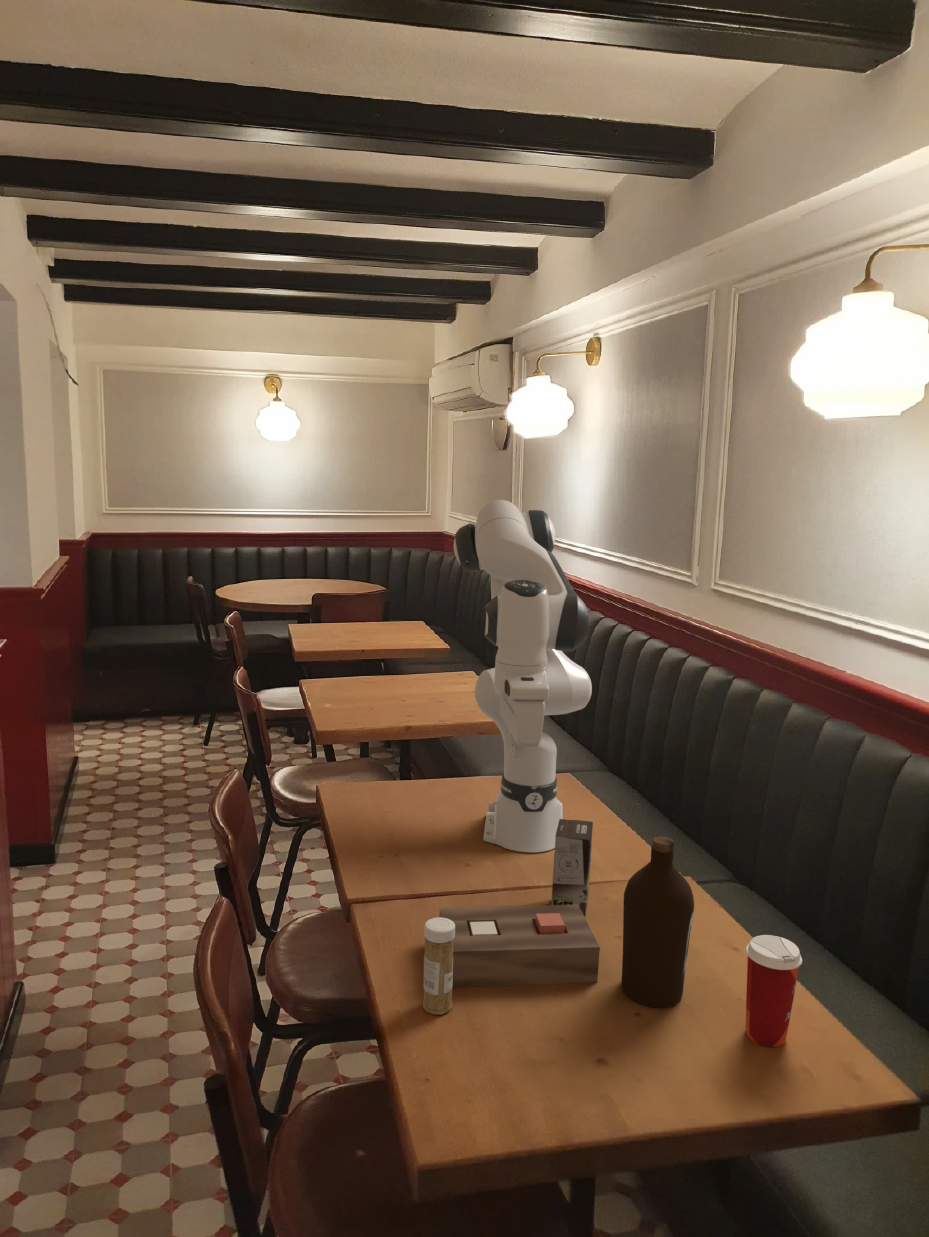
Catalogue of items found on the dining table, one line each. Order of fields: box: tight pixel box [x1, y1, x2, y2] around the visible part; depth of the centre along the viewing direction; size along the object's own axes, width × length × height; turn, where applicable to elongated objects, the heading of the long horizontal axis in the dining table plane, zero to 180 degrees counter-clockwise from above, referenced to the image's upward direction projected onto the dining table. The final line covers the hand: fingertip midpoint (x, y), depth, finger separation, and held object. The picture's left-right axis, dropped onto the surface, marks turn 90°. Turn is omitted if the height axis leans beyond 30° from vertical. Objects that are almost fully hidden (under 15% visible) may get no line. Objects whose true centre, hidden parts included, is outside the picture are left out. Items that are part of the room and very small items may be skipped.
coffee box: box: [550, 818, 594, 918], centre depth 166 cm, size 9×6×16 cm
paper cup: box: [745, 934, 803, 1048], centre depth 131 cm, size 8×8×14 cm
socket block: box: [439, 904, 601, 988], centre depth 149 cm, size 14×24×6 cm, turn 97°
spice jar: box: [422, 917, 455, 1016], centre depth 135 cm, size 5×5×14 cm
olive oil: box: [621, 836, 695, 1009], centre depth 140 cm, size 11×11×25 cm
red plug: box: [535, 913, 565, 934], centre depth 150 cm, size 4×4×6 cm
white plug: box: [469, 921, 498, 936], centre depth 148 cm, size 4×4×6 cm
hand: (517, 755), depth 156 cm, fingers closed
